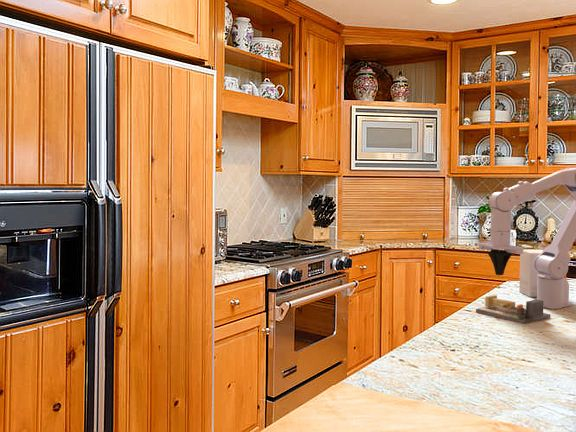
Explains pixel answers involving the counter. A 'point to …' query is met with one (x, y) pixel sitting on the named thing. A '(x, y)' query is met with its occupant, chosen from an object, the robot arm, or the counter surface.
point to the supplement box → (528, 272)
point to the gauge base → (530, 313)
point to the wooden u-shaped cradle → (498, 302)
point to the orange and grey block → (520, 310)
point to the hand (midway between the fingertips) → (499, 274)
